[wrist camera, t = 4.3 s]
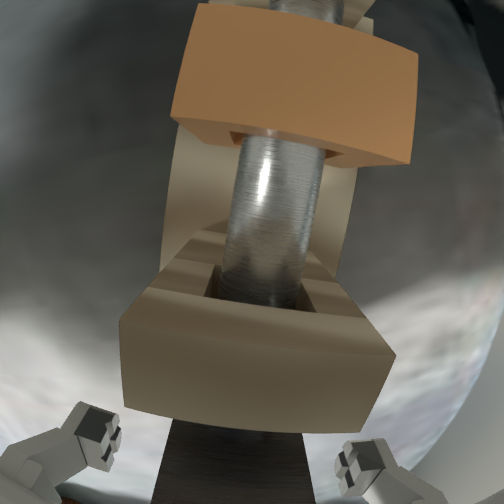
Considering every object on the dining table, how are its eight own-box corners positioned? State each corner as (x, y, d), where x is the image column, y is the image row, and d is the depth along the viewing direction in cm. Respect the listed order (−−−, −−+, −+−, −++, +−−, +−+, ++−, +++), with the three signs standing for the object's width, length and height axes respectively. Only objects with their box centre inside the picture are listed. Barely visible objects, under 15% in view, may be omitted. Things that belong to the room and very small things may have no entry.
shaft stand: (323, 292, 19) (410, 438, 7) (165, 268, 18) (60, 397, 6) (365, 28, 15) (466, -77, 3) (215, -1, 14) (187, -142, 2)
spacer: (341, 168, 11) (409, 164, 6) (204, 143, 11) (170, 116, 6) (351, 98, 11) (418, 54, 5) (218, 72, 10) (198, 3, 5)
